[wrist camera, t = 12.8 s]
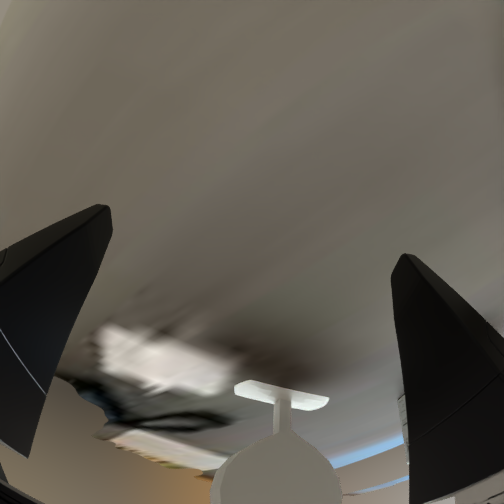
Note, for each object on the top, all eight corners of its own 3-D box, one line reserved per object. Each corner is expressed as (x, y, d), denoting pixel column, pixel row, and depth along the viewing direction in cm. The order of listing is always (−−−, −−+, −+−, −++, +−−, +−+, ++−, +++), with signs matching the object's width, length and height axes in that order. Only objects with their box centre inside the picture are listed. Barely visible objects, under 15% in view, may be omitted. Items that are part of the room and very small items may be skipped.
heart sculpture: (221, 390, 39) (204, 519, 25) (235, 375, 36) (218, 519, 22) (320, 412, 42) (322, 525, 28) (340, 399, 39) (346, 522, 25)
